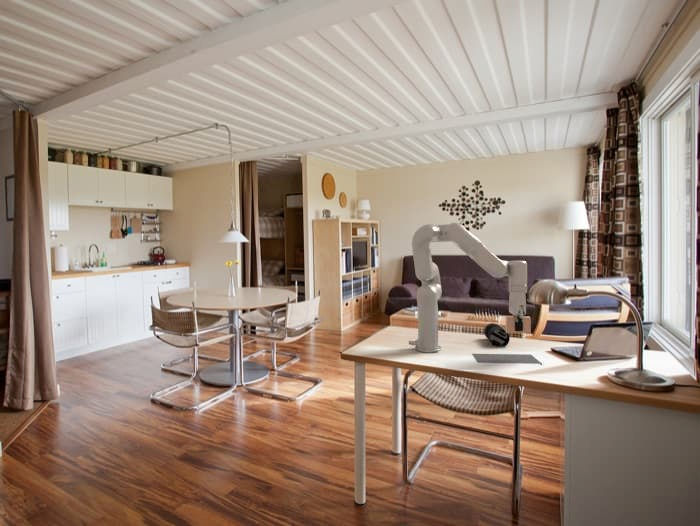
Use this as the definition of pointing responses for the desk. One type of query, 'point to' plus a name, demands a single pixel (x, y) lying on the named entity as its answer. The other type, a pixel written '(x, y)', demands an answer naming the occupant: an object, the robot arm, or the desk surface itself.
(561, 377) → the desk surface
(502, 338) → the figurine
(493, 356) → the mat
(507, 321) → the block
